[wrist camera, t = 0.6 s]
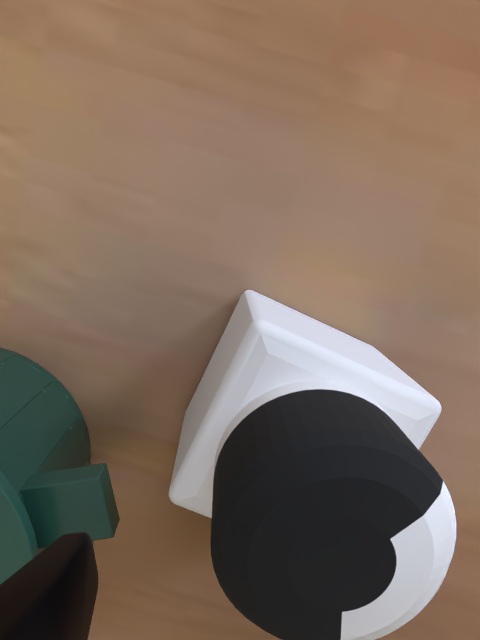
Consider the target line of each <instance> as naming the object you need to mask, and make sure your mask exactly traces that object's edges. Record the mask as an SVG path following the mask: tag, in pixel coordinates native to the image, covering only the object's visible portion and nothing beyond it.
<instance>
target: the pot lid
mask: <svg viewBox="0 0 480 640" xmlns="http://www.w3.org/2000/svg"><path fill="white" fill-rule="evenodd" d="M38 554H39V551H38V547H37V542H36V537H35V532H34V529H33V527H32V524H31V521H30V519H29V516H28V513H27V511H26V509H25V507H24V505H23V503H22V502H21V500H20V498H19V496H18V494H17V492H16V491H15V490H14V488H13V487H12V485H11V484H10V483H9V481H8V480H7V478H6V477H5V476H4V474H3V473H2V472H1V471H0V584H2V583H3V582H4V581H5V580H7V579H8V578H9V577H10V576H12V575H13V574H14V573H15V572H17V571H18V570H19V569H20V568H22V567H23V566H24V565H25V564H27V563H28V562H29V561H30V560H32V559H33V558H34V557H35V556H37V555H38Z"/></svg>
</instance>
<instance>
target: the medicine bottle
mask: <svg viewBox="0 0 480 640" xmlns="http://www.w3.org/2000/svg"><path fill="white" fill-rule="evenodd" d="M441 410H442V408H441V405H440V403H439V401H438V400H436V399H435V398H434V397H433V396H432V395H431V394H429V393H428V392H427V391H426V390H425V389H423V388H422V387H421V386H420V385H419V384H417V383H416V382H415V381H414V380H413V379H411V378H410V377H409V376H408V375H407V374H405V373H404V372H403V371H402V370H401V369H399V368H398V367H397V366H396V365H395V364H393V363H392V362H391V361H390V360H389V359H387V358H386V357H385V356H384V355H383V354H381V353H380V352H379V351H378V350H377V349H375V348H374V347H373V346H370V345H368V344H366V343H364V342H362V341H360V340H358V339H355V338H353V337H351V336H349V335H347V334H345V333H343V332H341V331H338V330H336V329H334V328H332V327H330V326H328V325H326V324H323V323H321V322H319V321H317V320H315V319H313V318H311V317H308V316H306V315H304V314H302V313H300V312H298V311H296V310H293V309H291V308H289V307H287V306H285V305H283V304H281V303H278V302H276V301H274V300H272V299H270V298H268V297H266V296H263V295H261V294H259V293H257V292H255V291H253V290H246V291H244V292H243V294H242V295H241V297H240V299H239V301H238V303H237V305H236V308H235V310H234V312H233V314H232V316H231V318H230V320H229V322H228V324H227V326H226V328H225V331H224V333H223V335H222V337H221V339H220V341H219V343H218V345H217V347H216V349H215V351H214V354H213V356H212V358H211V360H210V362H209V364H208V366H207V368H206V370H205V372H204V374H203V376H202V379H201V381H200V383H199V385H198V387H197V389H196V391H195V393H194V395H193V397H192V399H191V402H190V404H189V406H188V408H187V410H186V412H185V416H184V421H183V426H182V431H181V435H180V440H179V445H178V450H177V455H176V460H175V464H174V469H173V474H172V479H171V484H170V488H169V498H170V500H171V502H173V503H174V504H176V505H178V506H181V507H183V508H186V509H189V510H191V511H194V512H196V513H199V514H201V515H204V516H206V517H209V518H211V519H212V521H211V556H212V561H213V567H214V571H215V573H216V576H217V579H218V581H219V584H220V586H221V587H222V589H223V591H224V593H225V594H226V596H227V597H228V599H229V600H230V601H231V603H232V604H233V605H234V606H235V608H236V609H237V610H239V611H240V612H241V613H242V614H243V615H244V616H245V617H246V618H247V619H249V620H250V621H251V622H253V623H254V624H256V625H257V626H258V627H260V628H261V629H263V630H264V631H266V632H268V633H270V634H272V635H274V636H276V637H278V638H280V639H283V640H375V639H378V638H380V637H383V636H385V635H387V634H389V633H391V632H393V631H395V630H397V629H398V628H400V627H401V626H403V625H404V624H406V623H407V622H409V621H410V620H411V619H412V618H413V617H415V616H416V615H417V614H418V613H419V612H420V611H421V610H422V609H423V608H424V607H425V606H426V605H427V604H428V603H429V602H430V600H431V599H432V598H433V596H434V595H435V593H436V592H437V590H438V589H439V587H440V585H441V583H442V581H443V579H444V578H445V576H446V573H447V570H448V567H449V564H450V561H451V559H452V556H453V552H454V547H455V541H456V517H455V510H454V506H453V503H452V499H451V496H450V494H449V492H448V489H447V487H446V485H445V483H444V481H443V480H442V478H441V477H440V476H439V474H438V473H437V471H436V470H435V469H434V467H433V466H432V465H431V464H430V463H429V462H428V460H427V459H426V458H425V457H424V456H423V455H422V453H421V452H420V451H419V449H420V447H421V445H422V444H423V442H424V440H425V439H426V437H427V435H428V434H429V432H430V430H431V429H432V427H433V425H434V424H435V422H436V420H437V419H438V417H439V415H440V413H441Z"/></svg>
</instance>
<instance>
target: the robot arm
mask: <svg viewBox="0 0 480 640" xmlns="http://www.w3.org/2000/svg"><path fill="white" fill-rule="evenodd" d="M97 590H98V572H97V566H96V560H95V555H94V549H93V543H92V539H91V537H90V534H88V533H87V532H80V533H69V534H64V535H62V536H61V537H59V538H58V539H57V540H55V541H54V542H53V543H52V544H50V545H49V546H48V547H47V548H45V549H44V550H43V551H42V552H40V553H39V554H38V555H37V556H35V557H34V558H33V559H32V560H30V561H29V562H28V563H27V564H25V565H24V566H23V567H22V568H20V569H19V570H18V571H17V572H15V573H14V574H13V575H12V576H10V577H9V578H8V579H7V580H5V581H4V582H3V583H2V584H0V640H87V639H88V634H89V629H90V625H91V620H92V615H93V610H94V605H95V600H96V595H97Z"/></svg>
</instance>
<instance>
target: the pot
mask: <svg viewBox="0 0 480 640" xmlns="http://www.w3.org/2000/svg"><path fill="white" fill-rule="evenodd" d="M89 463H90V442H89V436H88V431H87V427H86V424H85V421H84V418H83V416H82V414H81V412H80V410H79V407H78V406H77V404H76V402H75V401H74V399H73V398H72V396H71V395H70V393H69V392H68V391H67V390H66V389H65V387H64V386H63V385H62V384H61V383H60V382H59V381H58V380H57V379H56V378H55V377H54V376H53V375H52V374H51V373H49V372H48V371H47V370H45V369H44V368H42V367H41V366H40V365H38V364H37V363H35V362H33V361H31V360H29V359H28V358H26V357H24V356H21V355H19V354H17V353H14V352H12V351H9V350H5V349H2V348H0V471H1V472H2V473H3V474H4V476H5V477H6V478H7V480H8V481H9V483H10V484H11V485H12V487H13V488H14V490H15V491H16V492H17V494H18V496H19V498H20V500H21V502H22V503H23V505H24V507H25V509H26V511H27V513H28V516H29V519H30V521H31V524H32V527H33V529H34V532H35V537H36V542H37V547H38V551H39V553H40V552H42V551H43V550H44V549H45V548H47V547H48V546H49V545H50V544H52V543H53V542H54V541H55V540H57V539H58V538H59V537H61V536H62V535H64V534H69V533H80V532H87V533H88V534H90V537H91V539H92V541H93V540H100V539H106V538H112V537H114V534H115V531H116V528H117V525H118V523H119V515H118V511H117V507H116V503H115V498H114V494H113V490H112V486H111V482H110V477H109V473H108V469H107V465H106V463H103V464H96V465H90V466H89Z"/></svg>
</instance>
